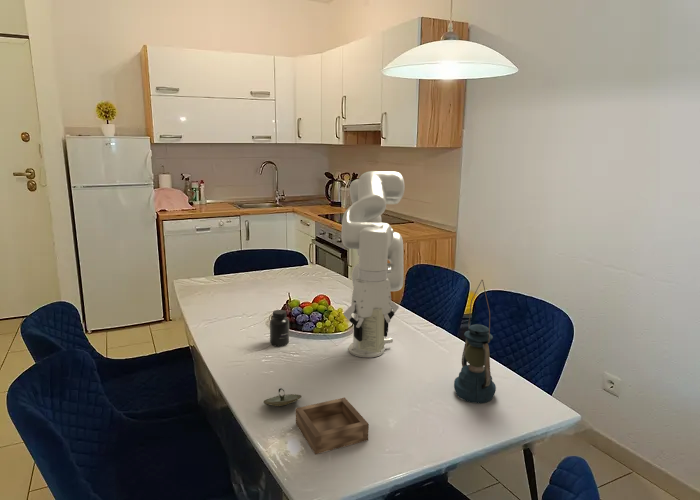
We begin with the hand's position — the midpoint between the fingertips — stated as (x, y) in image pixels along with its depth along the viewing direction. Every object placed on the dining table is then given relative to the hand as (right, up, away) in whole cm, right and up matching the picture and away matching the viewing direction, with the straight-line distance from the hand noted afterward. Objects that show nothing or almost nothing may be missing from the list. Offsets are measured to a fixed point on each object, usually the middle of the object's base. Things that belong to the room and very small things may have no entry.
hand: (370, 336), depth 136 cm
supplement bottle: (-31, -10, +45) cm, 55 cm away
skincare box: (0, -3, +1) cm, 4 cm away
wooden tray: (-10, -23, -9) cm, 27 cm away
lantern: (+31, -19, +11) cm, 38 cm away
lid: (-24, -20, +3) cm, 32 cm away
